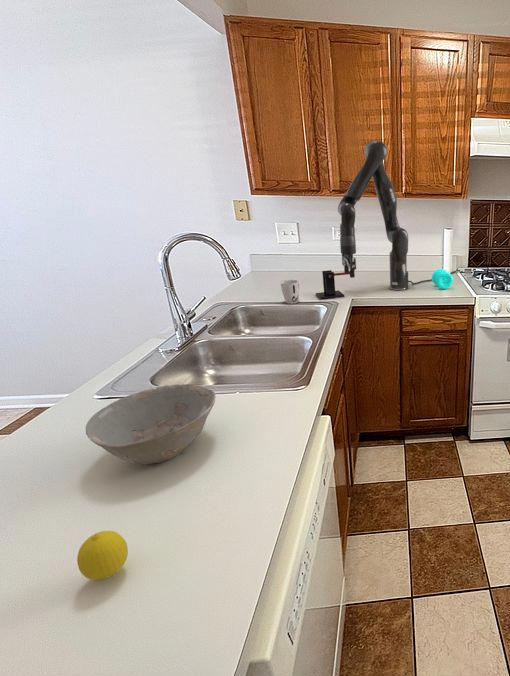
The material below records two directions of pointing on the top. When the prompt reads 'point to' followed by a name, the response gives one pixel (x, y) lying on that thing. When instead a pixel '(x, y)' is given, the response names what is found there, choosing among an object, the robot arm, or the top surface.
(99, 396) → the top surface
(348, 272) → the lever
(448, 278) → the turquoise rounded cylinder
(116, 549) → the lemon
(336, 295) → the bracket
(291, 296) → the cup
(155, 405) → the ceramic bowl
